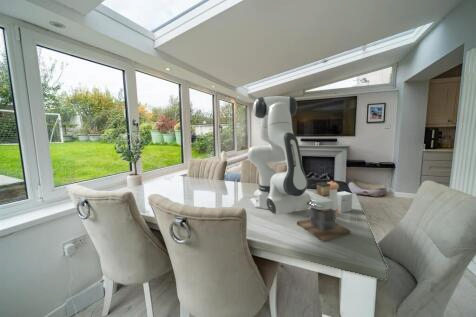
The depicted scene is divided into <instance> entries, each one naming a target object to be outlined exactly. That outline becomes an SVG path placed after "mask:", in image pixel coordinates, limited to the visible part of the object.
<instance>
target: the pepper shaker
mask: <svg viewBox="0 0 476 317" xmlns="http://www.w3.org/2000/svg"><path fill="white" fill-rule="evenodd" d="M326 183H328V184H330V199H331V200H333V207H332V208H331V209H333V210H335V211H336V217H338V216H339V212H338V200H337V192H338V190H339V187H340V185H339V184H338V183H337V182H335V181H333V180H331V181H327V182H326Z"/></svg>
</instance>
